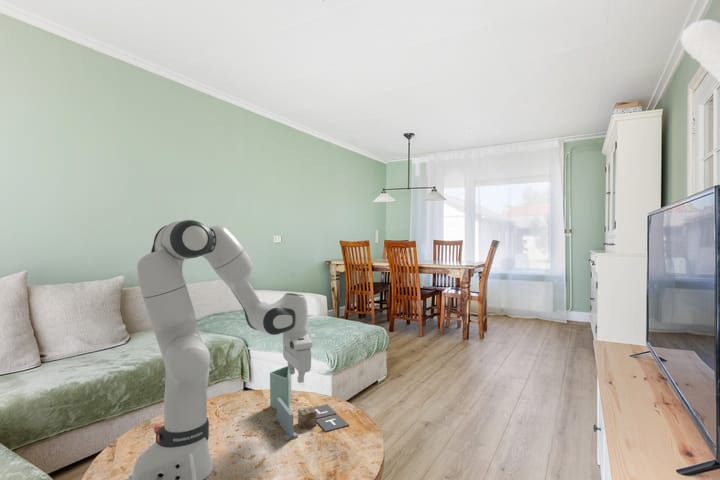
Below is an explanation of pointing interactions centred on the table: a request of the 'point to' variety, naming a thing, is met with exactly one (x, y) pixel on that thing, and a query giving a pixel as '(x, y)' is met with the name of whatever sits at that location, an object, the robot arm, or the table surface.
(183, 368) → the robot arm
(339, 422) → the pad
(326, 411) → the pad
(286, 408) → the screen
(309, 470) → the table surface
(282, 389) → the planter
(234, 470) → the table surface
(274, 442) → the table surface
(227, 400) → the table surface
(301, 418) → the cube
